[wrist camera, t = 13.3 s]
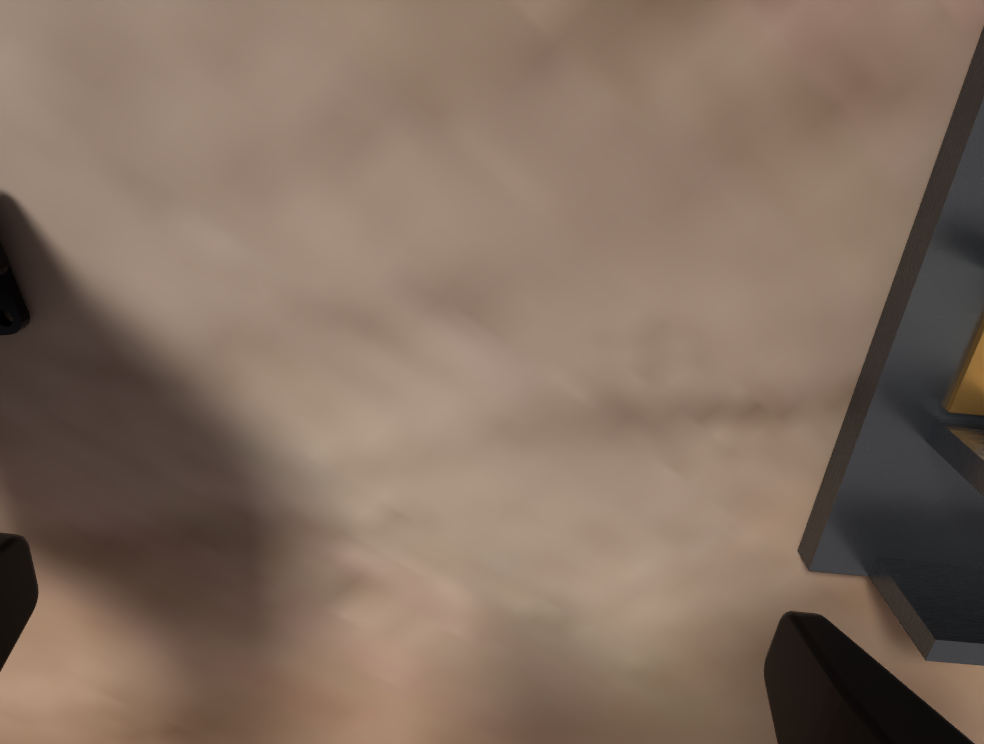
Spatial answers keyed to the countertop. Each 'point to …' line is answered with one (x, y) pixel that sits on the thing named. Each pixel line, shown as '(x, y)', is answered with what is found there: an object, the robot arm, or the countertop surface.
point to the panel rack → (922, 418)
